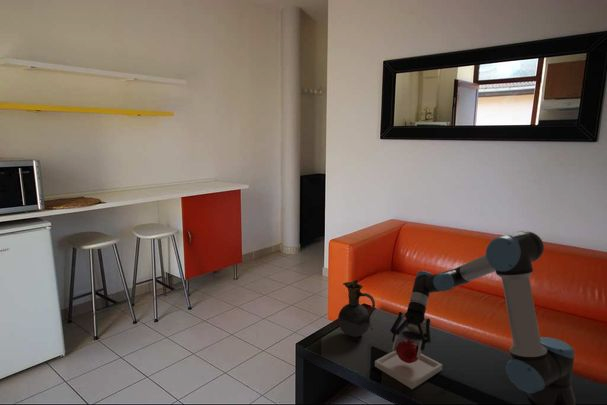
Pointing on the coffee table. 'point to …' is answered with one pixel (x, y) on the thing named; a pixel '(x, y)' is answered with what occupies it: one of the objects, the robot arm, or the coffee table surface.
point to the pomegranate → (407, 351)
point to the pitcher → (355, 313)
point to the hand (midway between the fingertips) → (405, 354)
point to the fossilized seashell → (416, 329)
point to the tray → (408, 369)
